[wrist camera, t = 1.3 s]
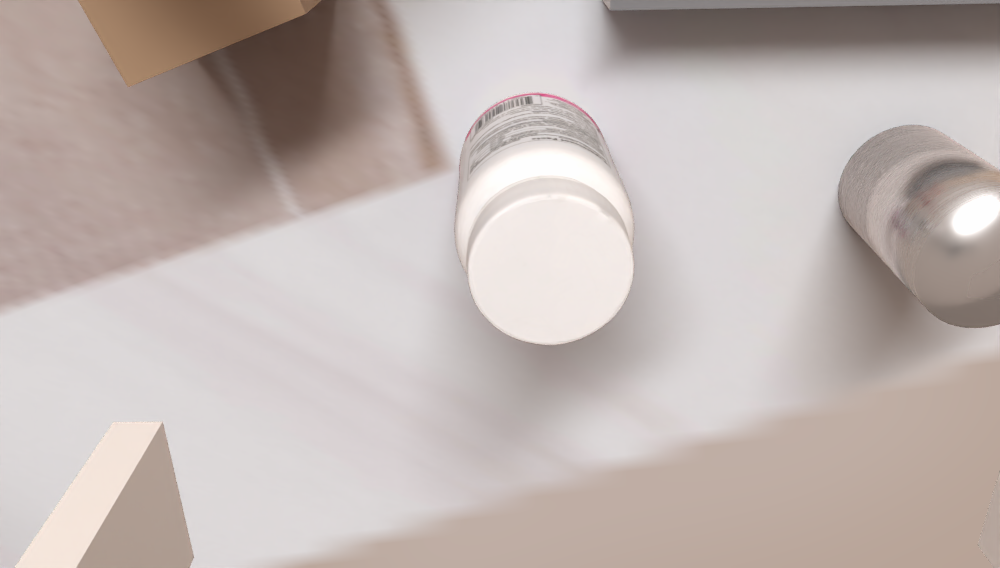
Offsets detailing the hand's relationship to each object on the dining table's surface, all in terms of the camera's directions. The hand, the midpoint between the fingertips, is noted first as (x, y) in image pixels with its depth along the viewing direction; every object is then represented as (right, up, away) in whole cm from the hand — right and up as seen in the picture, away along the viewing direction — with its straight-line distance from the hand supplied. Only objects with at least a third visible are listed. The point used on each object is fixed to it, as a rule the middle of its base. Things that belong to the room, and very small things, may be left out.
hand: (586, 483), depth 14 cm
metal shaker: (+12, +6, +15) cm, 20 cm away
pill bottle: (0, +7, +15) cm, 16 cm away
